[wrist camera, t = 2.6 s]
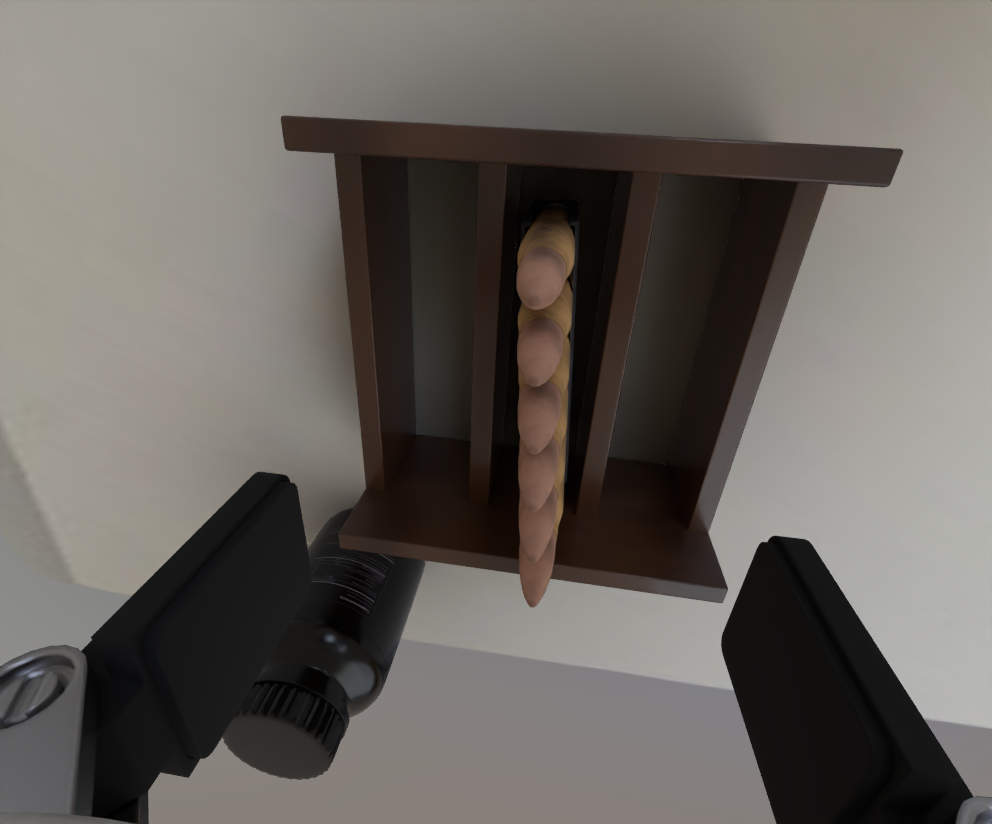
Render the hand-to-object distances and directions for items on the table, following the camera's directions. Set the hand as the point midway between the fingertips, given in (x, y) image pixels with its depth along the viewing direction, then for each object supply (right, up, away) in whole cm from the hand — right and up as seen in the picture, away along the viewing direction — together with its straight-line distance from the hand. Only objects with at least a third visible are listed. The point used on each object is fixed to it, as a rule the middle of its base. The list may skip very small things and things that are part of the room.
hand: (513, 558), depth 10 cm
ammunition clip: (+2, +7, +13) cm, 15 cm away
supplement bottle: (-8, -5, +21) cm, 23 cm away
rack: (+2, +7, +12) cm, 14 cm away
